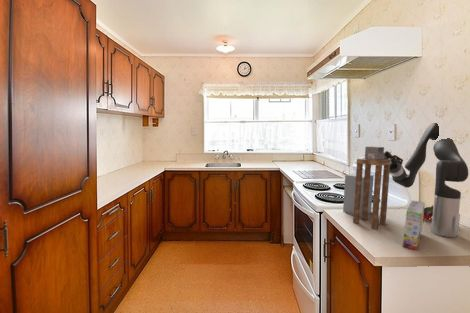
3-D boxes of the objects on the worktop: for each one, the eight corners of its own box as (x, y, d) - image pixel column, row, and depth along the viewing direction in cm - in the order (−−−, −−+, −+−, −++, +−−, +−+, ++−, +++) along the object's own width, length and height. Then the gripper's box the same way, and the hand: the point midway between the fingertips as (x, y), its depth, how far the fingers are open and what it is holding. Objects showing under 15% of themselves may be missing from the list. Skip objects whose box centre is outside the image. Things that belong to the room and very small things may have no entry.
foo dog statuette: (430, 230, 141) (443, 217, 132) (410, 218, 146) (421, 206, 137) (435, 219, 145) (448, 207, 136) (415, 208, 150) (426, 196, 141)
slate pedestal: (371, 212, 155) (373, 175, 152) (360, 216, 147) (362, 177, 145) (354, 207, 162) (356, 172, 160) (343, 211, 155) (345, 174, 153)
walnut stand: (385, 224, 135) (390, 159, 131) (375, 229, 128) (380, 161, 125) (363, 218, 143) (367, 157, 140) (353, 222, 137) (357, 158, 133)
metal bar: (393, 158, 139) (394, 146, 139) (377, 160, 128) (378, 147, 128) (381, 157, 144) (382, 145, 143) (364, 159, 133) (365, 146, 132)
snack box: (418, 251, 106) (422, 213, 104) (402, 247, 109) (405, 210, 108) (422, 234, 123) (425, 201, 121) (407, 231, 126) (410, 199, 125)
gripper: (382, 159, 154) (370, 144, 144) (410, 162, 143) (399, 146, 133) (378, 171, 152) (366, 157, 142) (406, 175, 141) (395, 160, 131)
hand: (382, 152), depth 137 cm, fingers closed on metal bar, 3 cm apart
